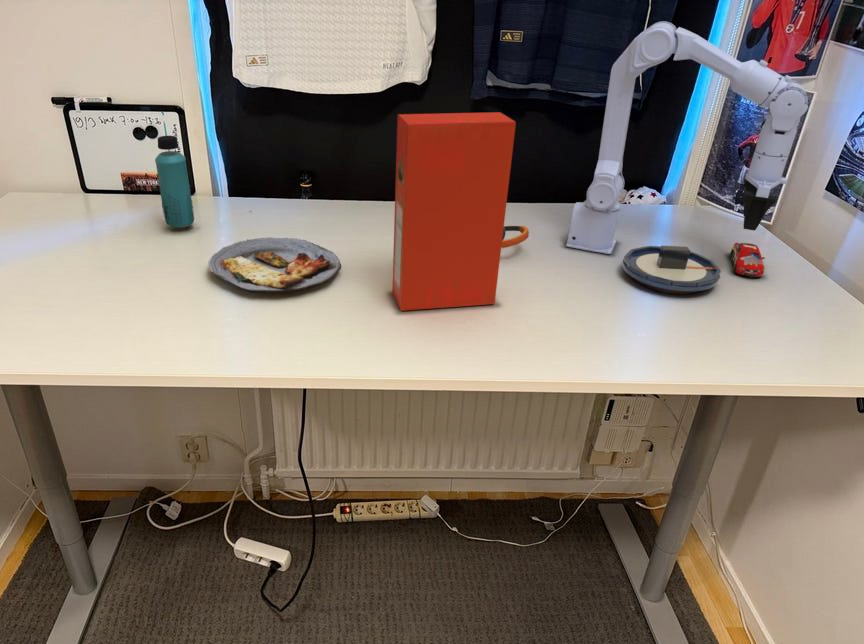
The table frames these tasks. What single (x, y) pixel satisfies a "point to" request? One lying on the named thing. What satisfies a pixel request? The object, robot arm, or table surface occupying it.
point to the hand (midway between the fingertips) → (749, 222)
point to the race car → (747, 259)
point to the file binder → (450, 207)
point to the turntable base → (665, 289)
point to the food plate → (275, 264)
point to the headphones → (514, 240)
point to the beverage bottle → (174, 184)
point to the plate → (671, 268)
